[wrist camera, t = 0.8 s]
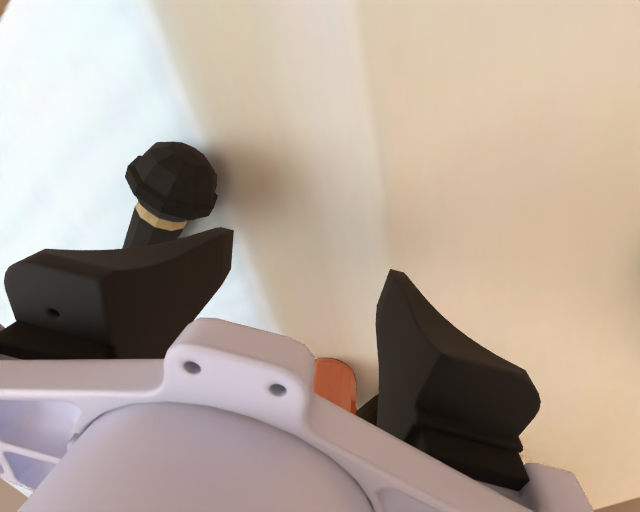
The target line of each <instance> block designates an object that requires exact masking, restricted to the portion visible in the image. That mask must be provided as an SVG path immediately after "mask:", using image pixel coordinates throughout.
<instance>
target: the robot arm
mask: <svg viewBox="0 0 640 512" xmlns="http://www.w3.org/2000/svg"><path fill="white" fill-rule="evenodd" d="M233 233H234V230H230V229H226V228H222V227H219V228H214V229H211V230H207V231H204V232H201V233H197V234H194V235H191V236H187V237H184V238H180V239H176V240H172V241H168V242H164V243H160V244H155V245H149V246H143V247H135V248H125V249H115V250H58V249H44V250H42V251H40V252H38V253H36V254H33V255H31V256H29V257H27V258H25V259H23V260H21V261H19V262H16V263H15V264H13V265H11V266H9V268H8V269H7V271H6V272H5V278H4V285H5V290H6V293H7V296H8V299H9V302H10V305H11V307H12V310H13V313H14V316H15V319H16V322H15V323H13V324H11V325H10V326H8V327H7V328H4V327H3V326H2V325H1V324H0V477H1V478H3V479H5V480H8V481H10V482H12V483H15V484H17V485H19V486H21V487H24V488H26V489H28V490H31V491H33V493H32V494H31V496H30V497H29V498H28V499H27V500H26V502H25V503H24V504H23V505H22V506H21V507H20V509H19V510H18V511H17V512H594V510H593V508H592V506H591V505H590V503H589V501H588V499H587V497H586V495H585V493H584V492H583V490H582V488H581V486H580V484H579V482H578V481H577V479H576V477H575V475H574V474H573V473H571V472H569V471H565V470H561V469H557V468H553V467H550V466H546V465H542V464H538V463H528V464H525V465H523V462H522V460H521V458H520V455H519V453H518V452H520V453H521V452H522V451H523V446H522V444H521V441H520V439H519V437H518V436H519V435H520V434H521V433H522V431H523V430H524V429H525V428H526V427H527V426H528V424H529V423H530V422H531V421H532V420H533V419H534V417H535V416H536V414H537V412H538V411H539V409H540V402H541V401H540V397H539V393H538V391H537V390H536V388H535V386H534V384H533V383H532V381H531V379H530V377H529V376H528V374H527V372H526V370H524V369H522V368H520V367H518V366H516V365H514V364H512V363H510V362H508V361H507V360H505V359H503V358H501V357H499V356H497V355H495V354H494V353H492V352H491V351H489V350H487V349H486V348H484V347H482V346H481V345H479V344H478V343H476V342H475V341H473V340H472V339H470V338H469V337H468V336H466V335H465V334H464V333H462V332H461V331H460V330H458V329H457V328H456V327H455V326H453V325H452V324H451V323H450V322H449V321H448V320H446V319H445V318H444V317H443V316H442V315H441V314H440V313H439V312H438V311H437V310H436V309H435V308H434V307H433V306H432V305H431V304H430V303H429V302H428V301H427V299H426V298H425V297H424V296H423V295H422V294H421V293H420V291H419V290H418V289H417V288H416V286H415V285H414V284H413V283H412V281H411V280H410V279H409V278H408V277H407V275H406V274H405V273H404V272H400V271H396V270H392V269H390V271H389V274H388V276H387V279H386V282H385V285H384V287H383V290H382V293H381V296H380V298H379V301H378V304H377V311H376V336H377V348H378V361H379V394H378V413H377V427H376V426H374V425H372V424H370V423H369V422H367V421H365V420H363V419H361V418H359V417H358V416H356V415H354V414H352V413H350V412H348V411H347V410H345V409H343V408H341V407H339V406H337V405H336V404H334V403H332V402H330V401H328V400H326V399H325V398H323V397H321V396H319V395H317V394H315V393H314V392H313V390H312V385H313V380H314V375H315V370H316V368H315V357H314V355H313V354H312V353H311V352H310V350H309V349H308V348H307V347H306V346H305V345H304V344H302V343H300V342H298V341H296V340H294V339H292V338H290V337H287V336H283V335H279V334H275V333H271V332H267V331H264V330H260V329H256V328H252V327H248V326H244V325H240V324H236V323H232V322H228V321H224V320H221V319H217V318H199V319H197V320H195V321H194V319H195V318H196V317H197V315H198V314H199V313H200V312H201V310H202V309H203V308H204V307H205V305H206V304H207V303H208V302H209V300H210V299H211V298H212V297H213V295H214V294H215V293H216V292H217V290H218V289H219V288H220V287H221V285H222V284H223V282H224V280H225V279H226V277H227V275H228V273H229V271H230V270H231V260H232V247H233Z"/></svg>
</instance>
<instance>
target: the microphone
mask: <svg viewBox="0 0 640 512" xmlns="http://www.w3.org/2000/svg"><path fill="white" fill-rule="evenodd" d="M125 178H126V180H127V182H128V184H129V186H130V188H131V190H132V192H133V194H134V195H135V196H136V197H137V199H138V201H139V202H138V203H137V205H136V206H135V208H134V212H133V215H132V218H131V222H130V225H129V228H128V232H127V235H126V238H125V242H124V245H123V248H122V249H125V248H135V247H143V246H149V245H155V244H160V243H164V242H168V241H172V240H176V239H178V237H179V235H180V234H181V232H182V230H183V229H184V227H185V225H186V222H187V221H189V220H194V219H197V218H201V217H206V216H209V214H210V213H211V211H212V210H213V208H214V205H215V202H216V200H217V197H218V196H217V194H216V192H215V188H216V185H217V174H216V173H215V171H214V169H213V168H212V166H211V165H210V163H209V161H208V160H207V158H206V157H205V156H204V154H202V153H201V152H200V151H198V150H197V149H195V148H194V147H192V146H189V145H187V144H184V143H182V142H156V143H155V144H154V145H153V146H152V147H151V148H150V149H149V150H148V151H147V152H146V153H145V154H144V155H143V156H138V157H137V158H136V159H135V160H134V161H133V162H132V163H131V164H130V165H129V166H128V167H127V171H126V175H125Z"/></svg>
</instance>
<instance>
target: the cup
mask: <svg viewBox="0 0 640 512" xmlns="http://www.w3.org/2000/svg"><path fill="white" fill-rule="evenodd" d="M315 368H316V370H315V375H314V380H313V385H312V390H313V392H314V393H315V394H317V395H319V396H321V397H323V398H325V399H326V400H328V401H330V402H332V403H334V404H336V405H337V406H339V407H341V408H343V409H345V410H347V411H348V412H350V413H352V414H354V415H356V416H357V407H356V380H355V376H354V373H353V372H352V370H351V369H350V368H349V367H348V366H347V365H346V364H344V363H343V362H341V361H338V360H335V359H330V358H321V359H317V360H315Z"/></svg>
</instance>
